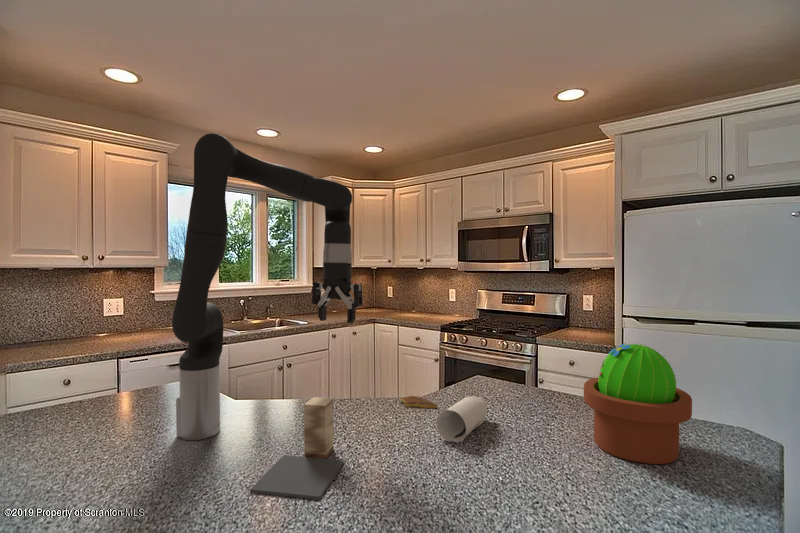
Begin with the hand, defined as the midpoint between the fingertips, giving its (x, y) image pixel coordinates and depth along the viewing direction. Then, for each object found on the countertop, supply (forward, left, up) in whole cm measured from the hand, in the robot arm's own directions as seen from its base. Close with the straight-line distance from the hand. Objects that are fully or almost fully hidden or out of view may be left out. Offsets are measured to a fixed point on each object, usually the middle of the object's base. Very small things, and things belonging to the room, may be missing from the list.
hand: (336, 321), depth 111 cm
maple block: (+1, -16, -28) cm, 32 cm away
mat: (+1, -27, -28) cm, 39 cm away
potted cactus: (+73, 0, -28) cm, 78 cm away
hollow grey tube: (+33, +3, -28) cm, 44 cm away
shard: (+19, +21, -28) cm, 40 cm away
